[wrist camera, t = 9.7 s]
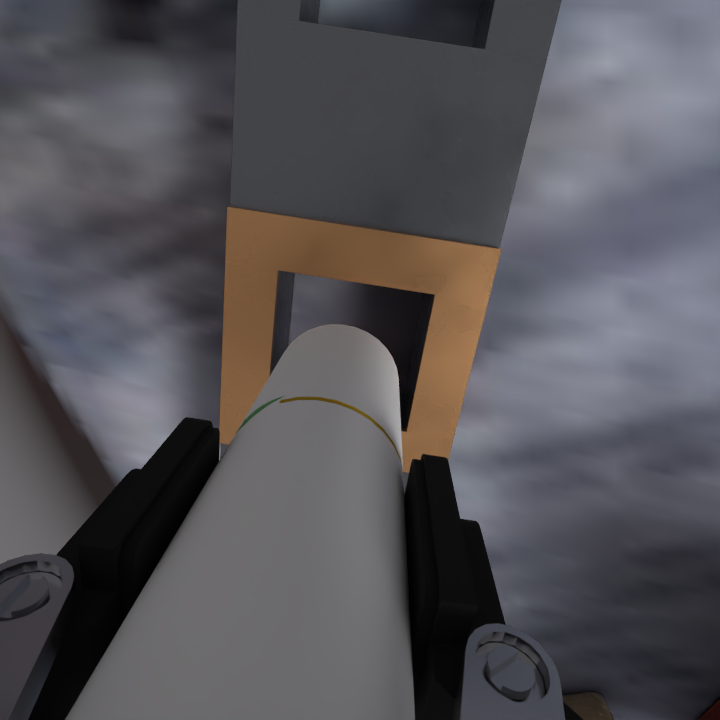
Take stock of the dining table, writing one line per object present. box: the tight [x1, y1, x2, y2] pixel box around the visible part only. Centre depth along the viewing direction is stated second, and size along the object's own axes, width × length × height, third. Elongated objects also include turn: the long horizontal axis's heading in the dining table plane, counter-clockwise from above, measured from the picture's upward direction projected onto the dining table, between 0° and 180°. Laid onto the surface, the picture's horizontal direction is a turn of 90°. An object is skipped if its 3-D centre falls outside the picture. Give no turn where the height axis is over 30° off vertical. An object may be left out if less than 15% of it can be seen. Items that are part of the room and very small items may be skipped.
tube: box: [65, 324, 415, 720], centre depth 10 cm, size 4×4×15 cm
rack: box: [219, 0, 561, 494], centre depth 18 cm, size 30×10×4 cm, turn 172°
